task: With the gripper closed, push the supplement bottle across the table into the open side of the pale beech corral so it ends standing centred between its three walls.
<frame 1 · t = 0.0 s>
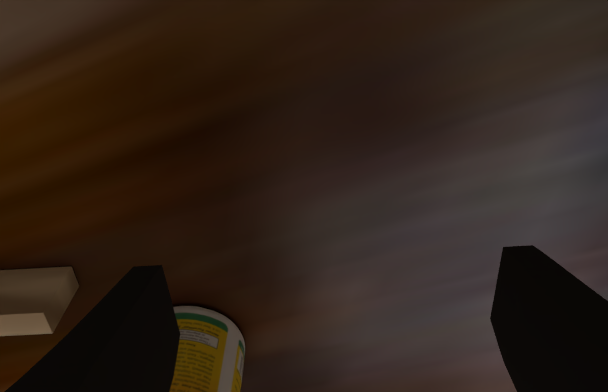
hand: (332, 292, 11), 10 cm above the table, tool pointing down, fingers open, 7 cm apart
beech corral: (3, 349, 26), on the table
supplement bottle: (194, 336, 26), on the table
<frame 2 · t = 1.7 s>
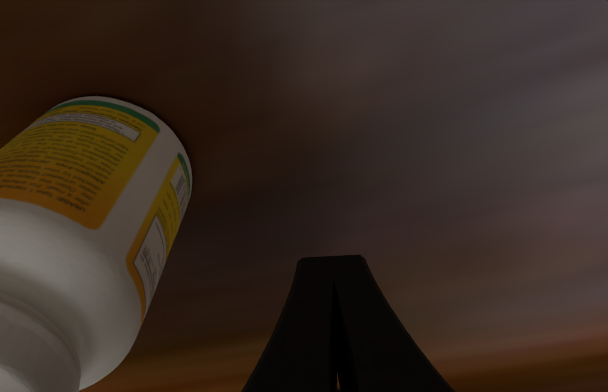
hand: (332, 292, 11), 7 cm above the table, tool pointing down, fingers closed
supplement bottle: (116, 163, 17), on the table
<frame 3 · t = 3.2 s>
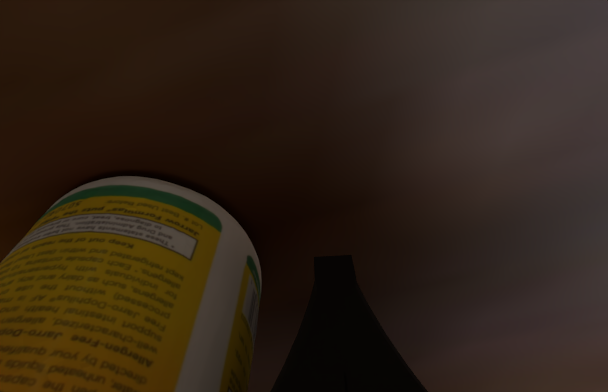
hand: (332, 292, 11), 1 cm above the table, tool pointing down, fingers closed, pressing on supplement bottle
supplement bottle: (155, 258, 12), on the table, touching gripper
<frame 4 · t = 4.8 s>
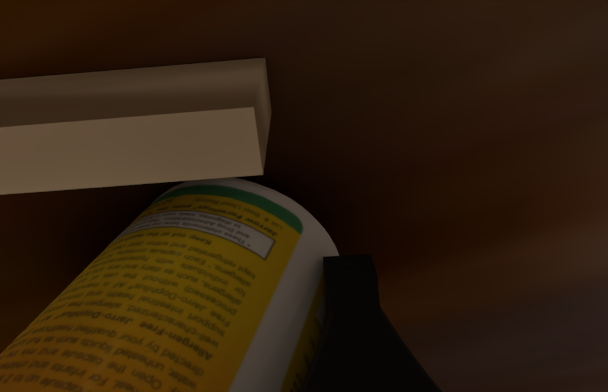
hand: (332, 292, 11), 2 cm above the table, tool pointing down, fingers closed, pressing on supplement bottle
beech corral: (92, 271, 13), on the table
supplement bottle: (246, 256, 13), on the table, touching gripper
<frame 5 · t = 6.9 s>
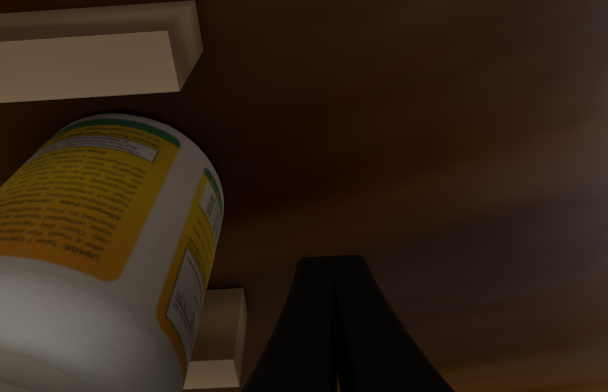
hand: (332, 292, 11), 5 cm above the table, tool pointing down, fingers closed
beech corral: (52, 196, 15), on the table
supplement bottle: (136, 187, 15), on the table
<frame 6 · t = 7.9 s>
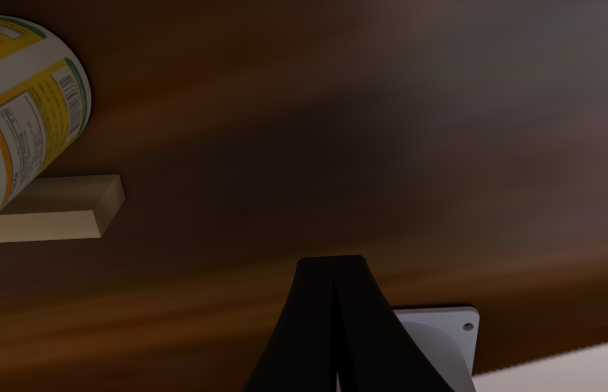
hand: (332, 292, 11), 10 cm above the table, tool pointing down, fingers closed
supplement bottle: (26, 82, 19), on the table
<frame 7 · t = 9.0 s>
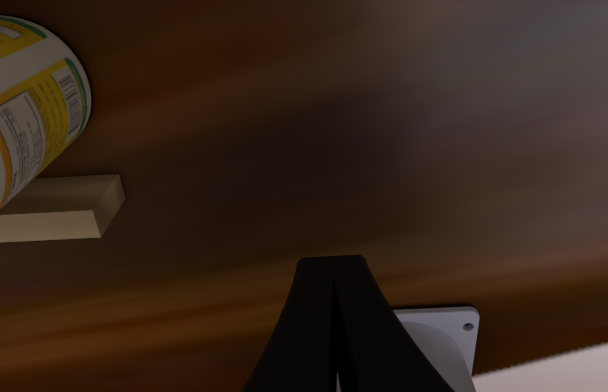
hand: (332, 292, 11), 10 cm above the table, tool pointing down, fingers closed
supplement bottle: (26, 82, 19), on the table
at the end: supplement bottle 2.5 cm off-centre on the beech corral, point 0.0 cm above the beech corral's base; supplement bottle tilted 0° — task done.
